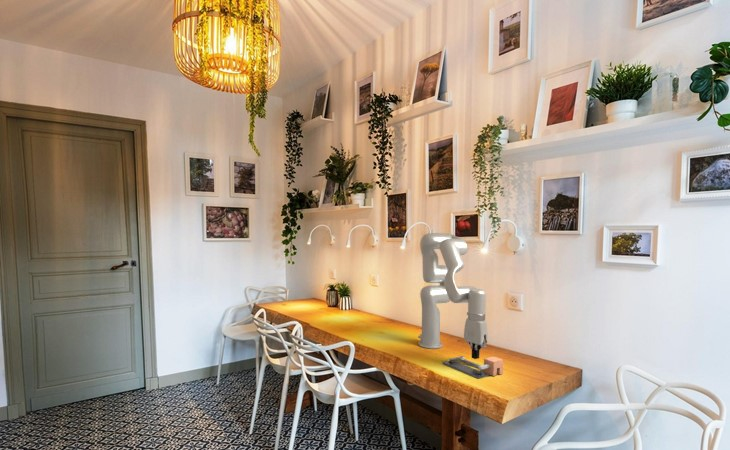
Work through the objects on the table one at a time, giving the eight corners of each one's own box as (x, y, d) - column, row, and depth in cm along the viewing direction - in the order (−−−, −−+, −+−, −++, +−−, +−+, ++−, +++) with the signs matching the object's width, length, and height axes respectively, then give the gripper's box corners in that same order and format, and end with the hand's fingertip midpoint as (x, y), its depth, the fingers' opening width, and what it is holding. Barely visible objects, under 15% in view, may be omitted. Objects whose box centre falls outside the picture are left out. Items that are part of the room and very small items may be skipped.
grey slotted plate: (446, 362, 173) (446, 358, 174) (460, 359, 178) (460, 355, 178) (482, 377, 156) (482, 372, 156) (497, 374, 160) (497, 368, 160)
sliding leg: (474, 374, 159) (475, 360, 159) (493, 369, 165) (493, 356, 165) (484, 378, 154) (484, 364, 155) (502, 373, 160) (503, 359, 161)
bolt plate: (442, 363, 172) (442, 361, 172) (452, 361, 175) (452, 359, 175) (478, 378, 154) (478, 376, 154) (488, 376, 157) (488, 374, 158)
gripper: (458, 314, 174) (457, 354, 174) (484, 321, 161) (482, 364, 161) (469, 312, 178) (468, 352, 178) (495, 319, 165) (494, 362, 165)
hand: (475, 358), depth 170 cm, fingers closed
